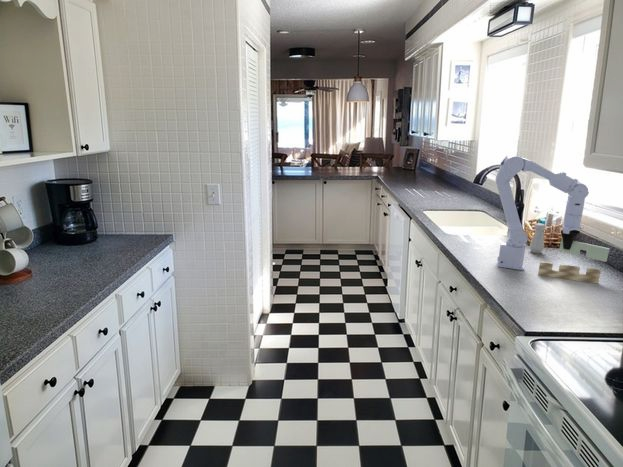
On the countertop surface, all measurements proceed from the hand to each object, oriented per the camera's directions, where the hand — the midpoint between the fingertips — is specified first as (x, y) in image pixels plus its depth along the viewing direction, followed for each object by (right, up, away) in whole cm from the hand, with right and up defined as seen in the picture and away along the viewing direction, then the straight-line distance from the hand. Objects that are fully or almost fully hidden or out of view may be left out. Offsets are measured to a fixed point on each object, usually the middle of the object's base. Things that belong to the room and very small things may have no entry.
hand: (567, 248), depth 182 cm
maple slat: (-3, -11, -5) cm, 12 cm away
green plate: (+4, -3, -3) cm, 6 cm away
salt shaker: (+1, -3, +29) cm, 29 cm away
